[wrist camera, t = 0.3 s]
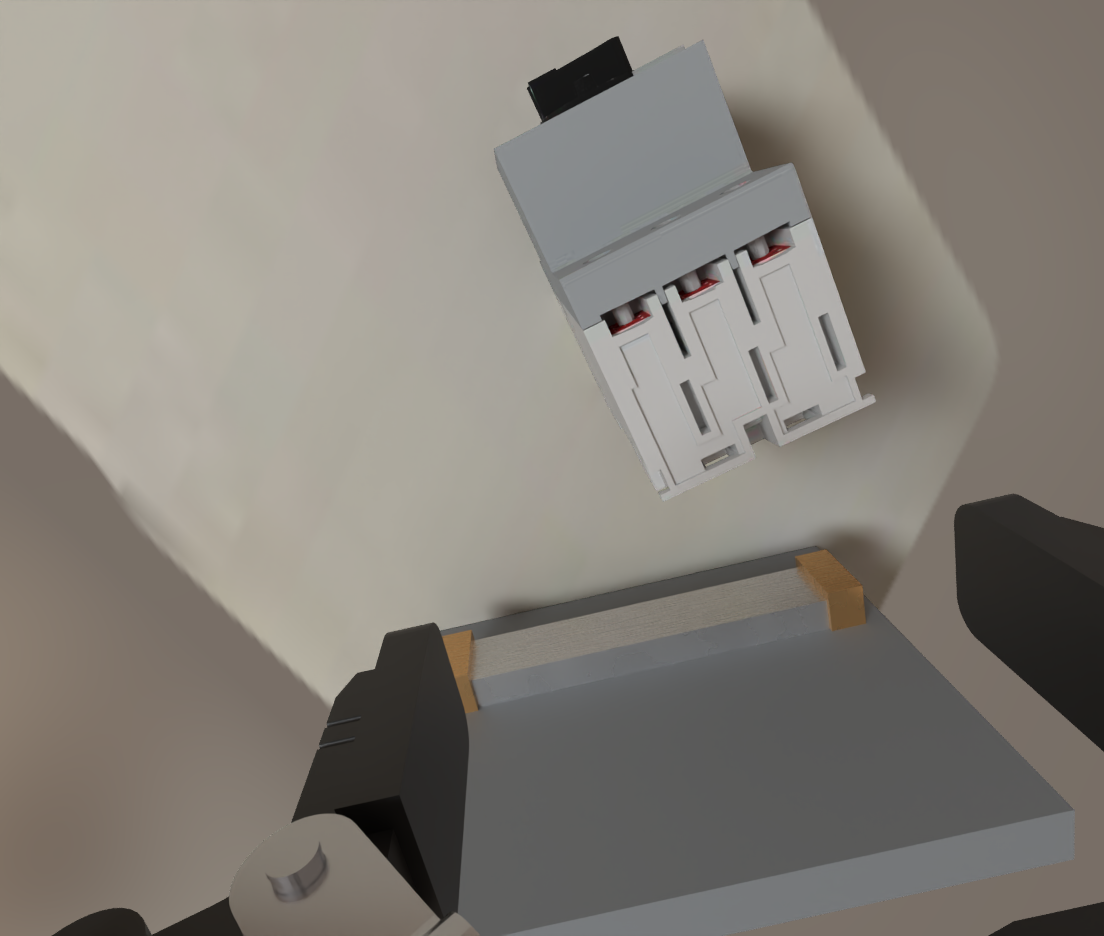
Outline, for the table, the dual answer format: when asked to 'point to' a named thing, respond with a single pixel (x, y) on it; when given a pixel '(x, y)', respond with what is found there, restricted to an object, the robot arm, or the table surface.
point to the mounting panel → (739, 785)
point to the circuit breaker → (680, 264)
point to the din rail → (656, 632)
